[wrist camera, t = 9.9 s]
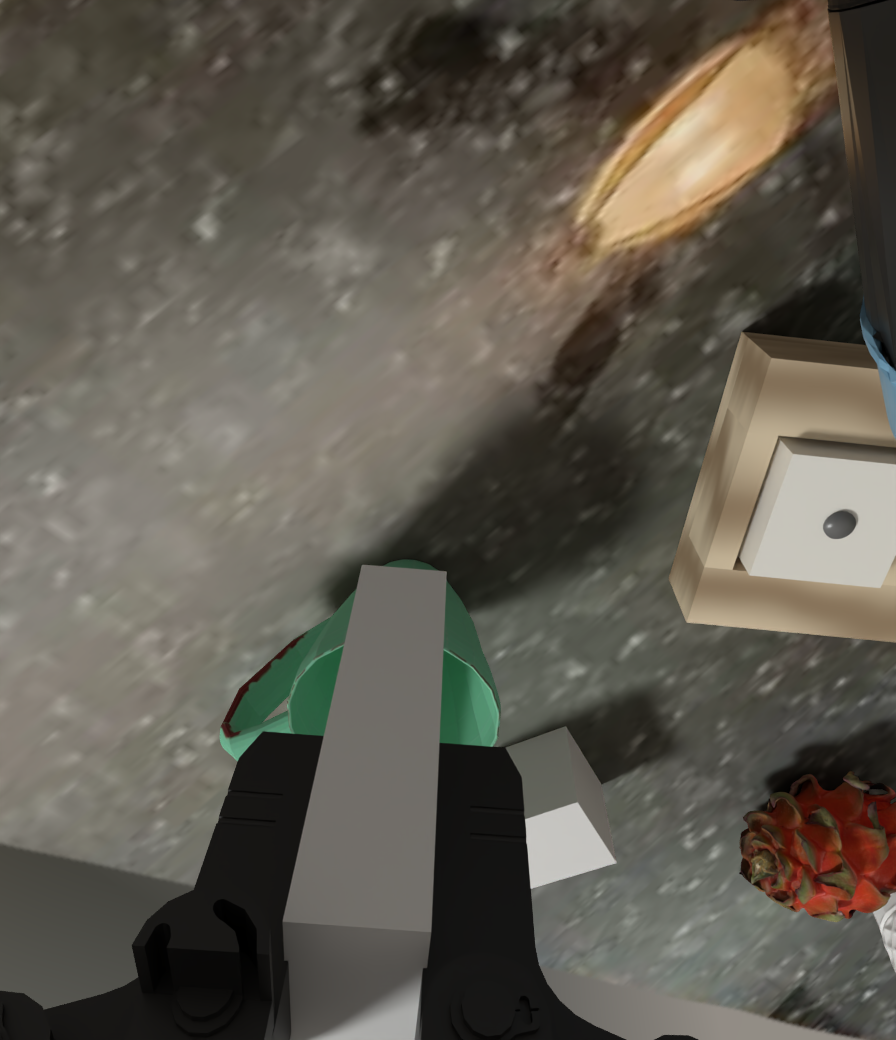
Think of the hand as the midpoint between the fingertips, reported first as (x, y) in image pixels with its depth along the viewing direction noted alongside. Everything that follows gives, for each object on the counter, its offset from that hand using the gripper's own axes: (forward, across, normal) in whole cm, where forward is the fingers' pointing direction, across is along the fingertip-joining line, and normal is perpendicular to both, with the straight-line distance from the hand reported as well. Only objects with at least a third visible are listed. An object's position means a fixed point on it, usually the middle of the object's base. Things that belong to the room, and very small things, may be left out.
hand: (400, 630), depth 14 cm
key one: (+23, +19, -7) cm, 31 cm away
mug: (+25, -3, -18) cm, 30 cm away
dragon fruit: (+25, +27, -30) cm, 48 cm away
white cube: (+25, +9, -30) cm, 40 cm away
